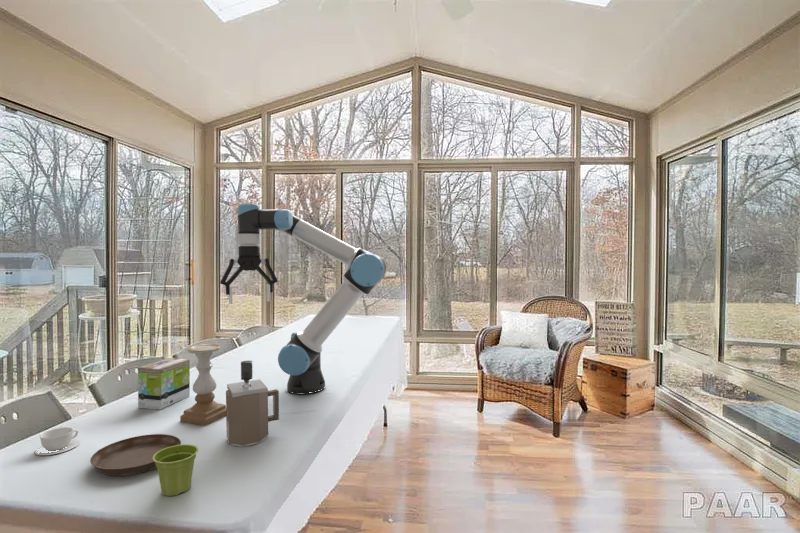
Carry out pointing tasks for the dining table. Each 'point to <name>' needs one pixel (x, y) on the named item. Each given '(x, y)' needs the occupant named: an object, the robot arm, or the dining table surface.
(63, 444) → the teacup
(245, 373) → the plunger
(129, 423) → the dining table surface
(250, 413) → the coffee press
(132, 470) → the plant saucer
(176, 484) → the plant pot
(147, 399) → the tea box
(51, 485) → the dining table surface
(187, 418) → the candle holder
